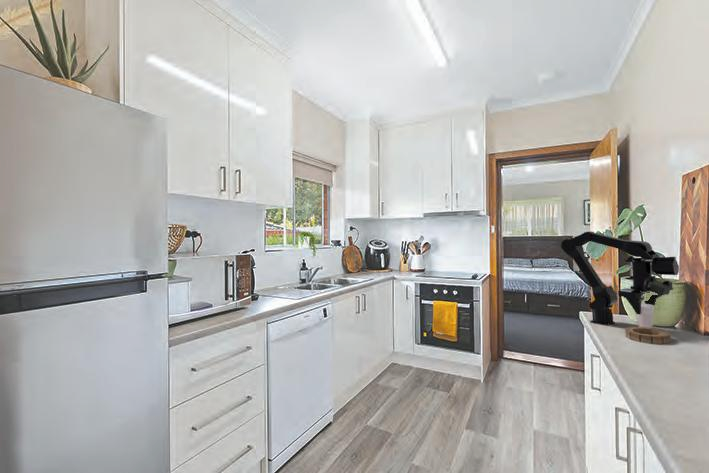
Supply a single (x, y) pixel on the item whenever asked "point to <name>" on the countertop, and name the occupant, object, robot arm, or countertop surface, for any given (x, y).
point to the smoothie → (645, 315)
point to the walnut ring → (647, 335)
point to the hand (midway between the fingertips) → (644, 313)
